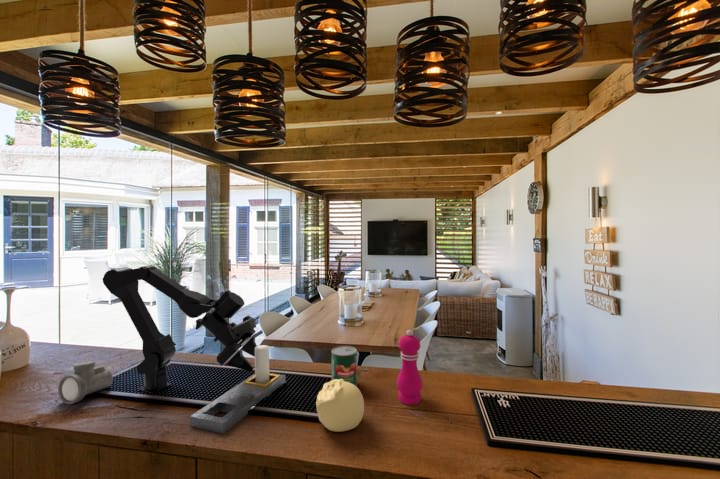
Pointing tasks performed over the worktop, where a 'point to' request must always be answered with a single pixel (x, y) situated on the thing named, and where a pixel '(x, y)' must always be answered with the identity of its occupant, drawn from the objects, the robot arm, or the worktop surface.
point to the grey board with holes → (234, 404)
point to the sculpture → (340, 405)
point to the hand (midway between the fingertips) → (257, 364)
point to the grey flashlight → (84, 381)
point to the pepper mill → (409, 370)
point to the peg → (262, 364)
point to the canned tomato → (344, 364)
